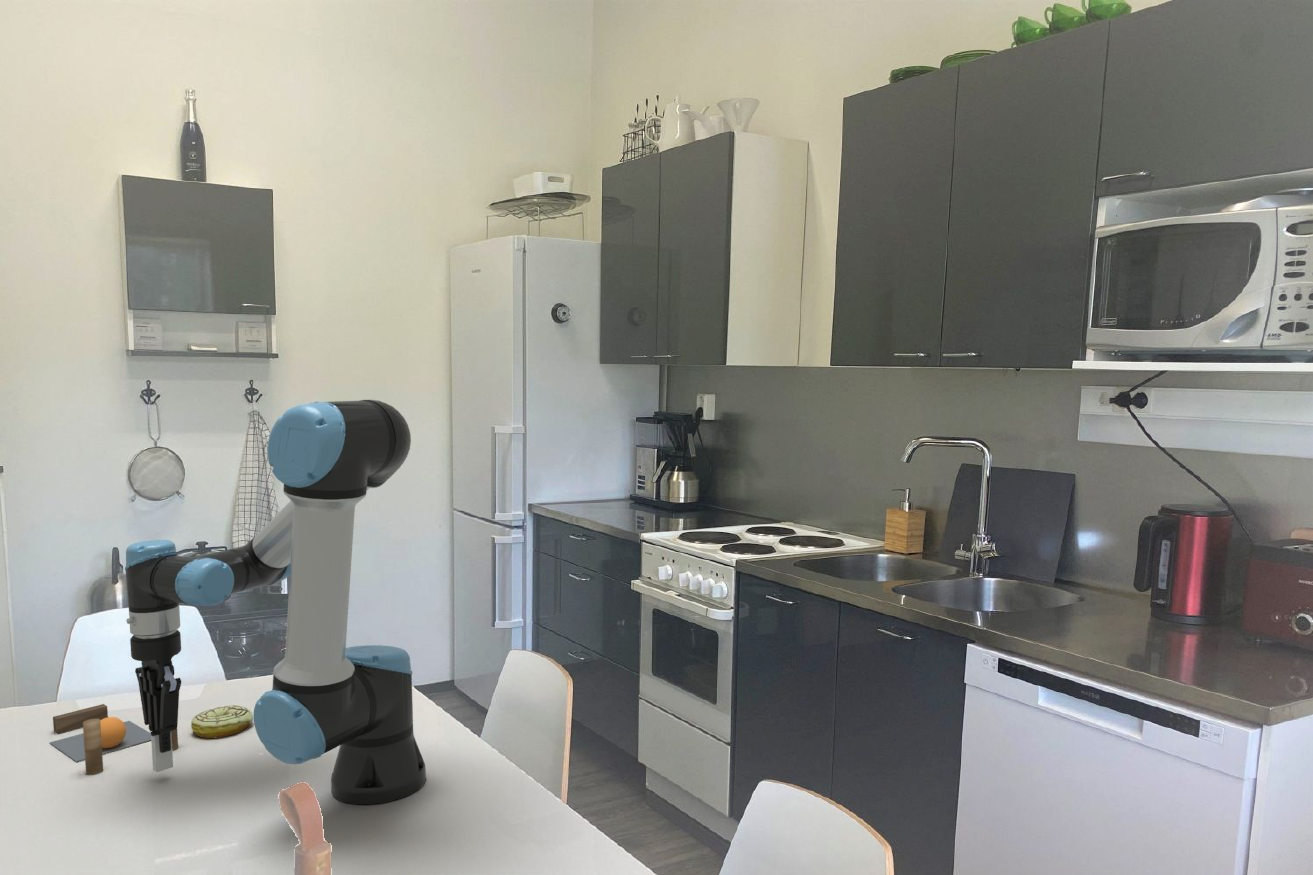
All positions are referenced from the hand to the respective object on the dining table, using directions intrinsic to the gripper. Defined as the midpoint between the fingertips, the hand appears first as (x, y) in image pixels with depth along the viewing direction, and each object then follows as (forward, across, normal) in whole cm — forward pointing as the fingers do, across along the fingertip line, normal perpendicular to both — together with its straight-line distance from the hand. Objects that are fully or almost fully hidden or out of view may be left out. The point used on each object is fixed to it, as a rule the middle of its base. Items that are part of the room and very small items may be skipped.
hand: (163, 768), depth 162 cm
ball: (-1, -23, 0) cm, 23 cm away
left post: (+2, -13, -6) cm, 15 cm away
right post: (+2, -13, +6) cm, 15 cm away
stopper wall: (+2, -39, 0) cm, 39 cm away
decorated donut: (+2, -15, +17) cm, 23 cm away
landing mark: (+2, -27, 0) cm, 27 cm away
